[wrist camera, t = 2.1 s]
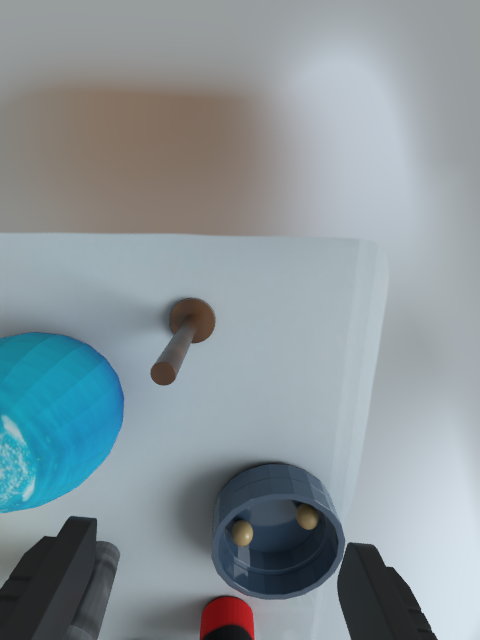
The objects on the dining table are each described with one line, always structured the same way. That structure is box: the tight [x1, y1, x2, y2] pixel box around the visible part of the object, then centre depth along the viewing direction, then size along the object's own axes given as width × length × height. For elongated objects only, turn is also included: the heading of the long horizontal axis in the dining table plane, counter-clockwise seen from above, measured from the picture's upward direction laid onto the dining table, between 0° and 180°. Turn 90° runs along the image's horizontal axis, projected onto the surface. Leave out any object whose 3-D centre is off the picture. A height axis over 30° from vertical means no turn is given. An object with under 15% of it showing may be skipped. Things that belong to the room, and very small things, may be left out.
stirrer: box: [151, 298, 215, 385], centre depth 25 cm, size 5×5×15 cm
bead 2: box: [296, 503, 319, 530], centre depth 37 cm, size 3×3×3 cm
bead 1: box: [231, 520, 253, 547], centre depth 37 cm, size 3×3×3 cm
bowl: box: [211, 464, 345, 600], centre depth 36 cm, size 16×16×5 cm
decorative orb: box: [0, 332, 124, 513], centre depth 26 cm, size 15×15×15 cm
